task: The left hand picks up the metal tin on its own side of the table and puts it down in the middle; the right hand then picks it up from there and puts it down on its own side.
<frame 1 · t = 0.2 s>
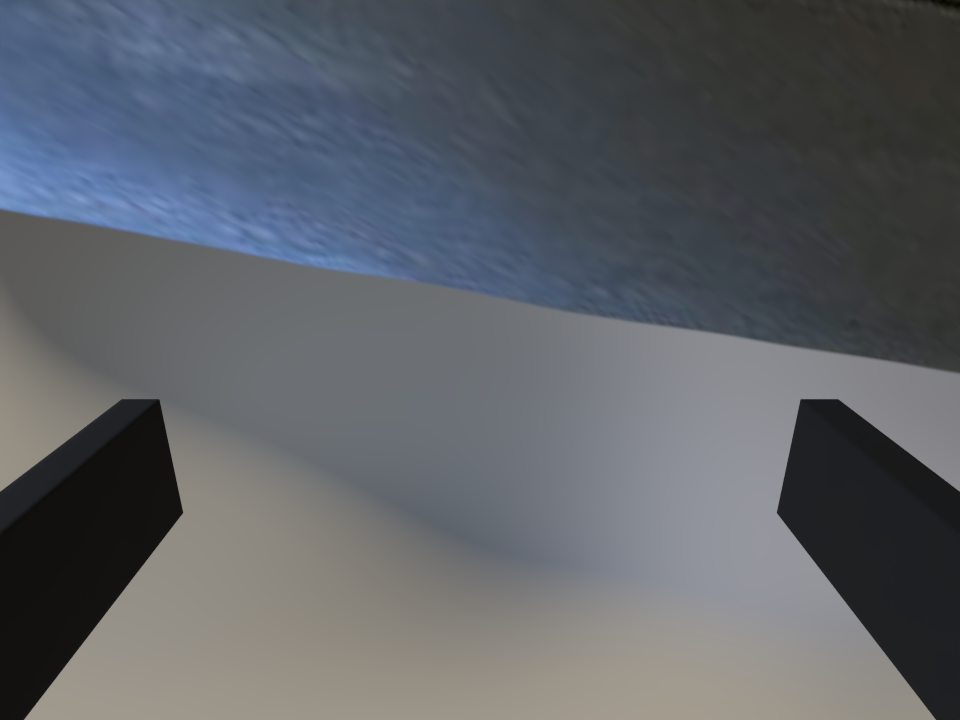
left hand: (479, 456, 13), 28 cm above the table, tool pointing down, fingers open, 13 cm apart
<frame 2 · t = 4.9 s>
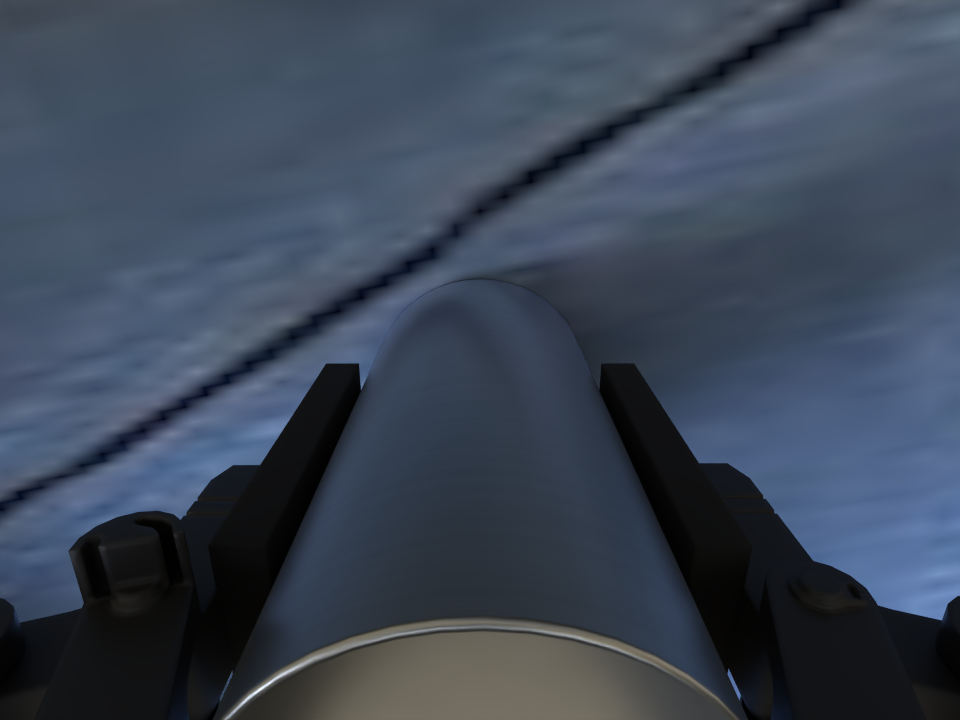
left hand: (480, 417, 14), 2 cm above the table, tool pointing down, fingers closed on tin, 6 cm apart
tin: (480, 378, 17), on the table, touching left hand
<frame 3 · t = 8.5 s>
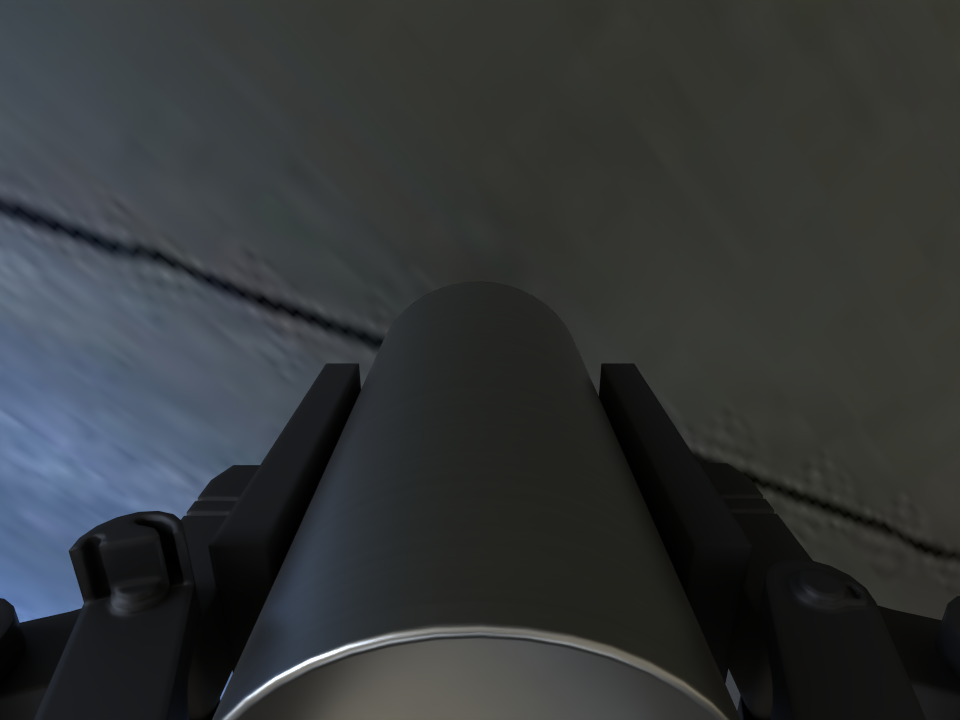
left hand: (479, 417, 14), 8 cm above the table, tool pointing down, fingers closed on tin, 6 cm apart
tin: (478, 381, 17), point 5 cm above the table, touching left hand
when the left hand's fingers open (4 cm above the table, at t = 11.9 s): tin drops 1 cm, on the table.
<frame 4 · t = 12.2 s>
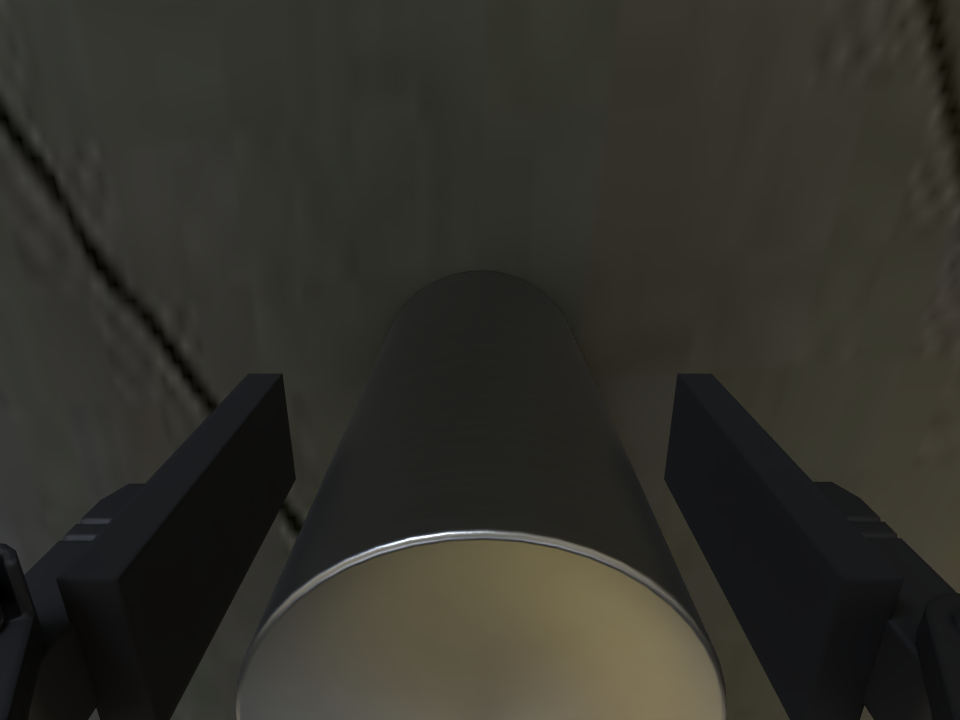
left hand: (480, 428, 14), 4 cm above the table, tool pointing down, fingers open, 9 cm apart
tin: (480, 364, 18), on the table
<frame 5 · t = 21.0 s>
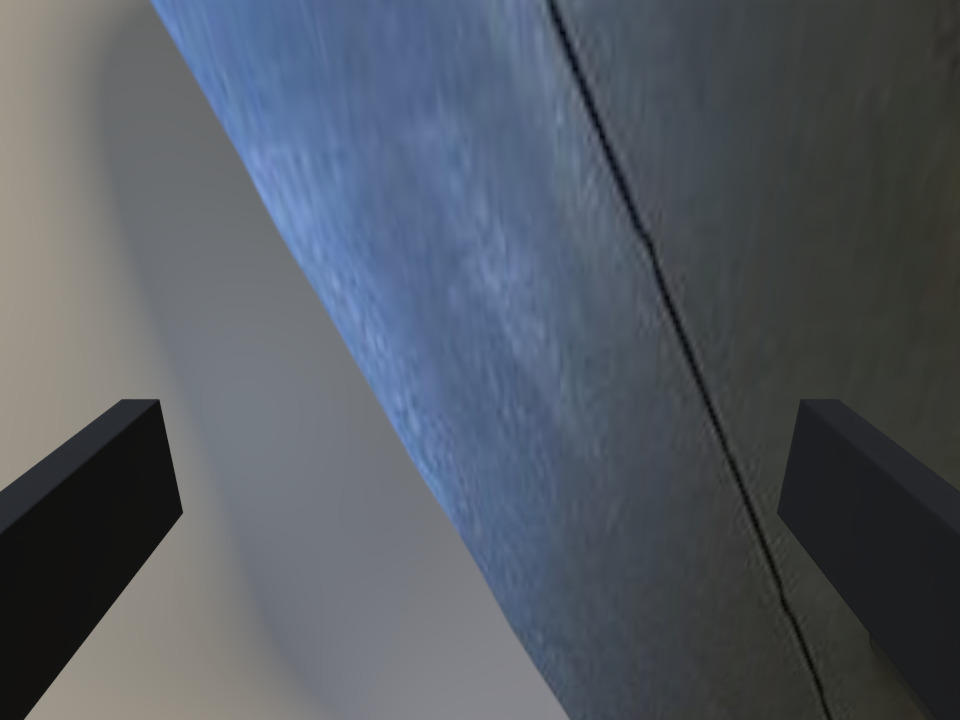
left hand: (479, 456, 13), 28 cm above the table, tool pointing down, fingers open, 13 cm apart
tin: (904, 632, 50), on the table, touching right hand
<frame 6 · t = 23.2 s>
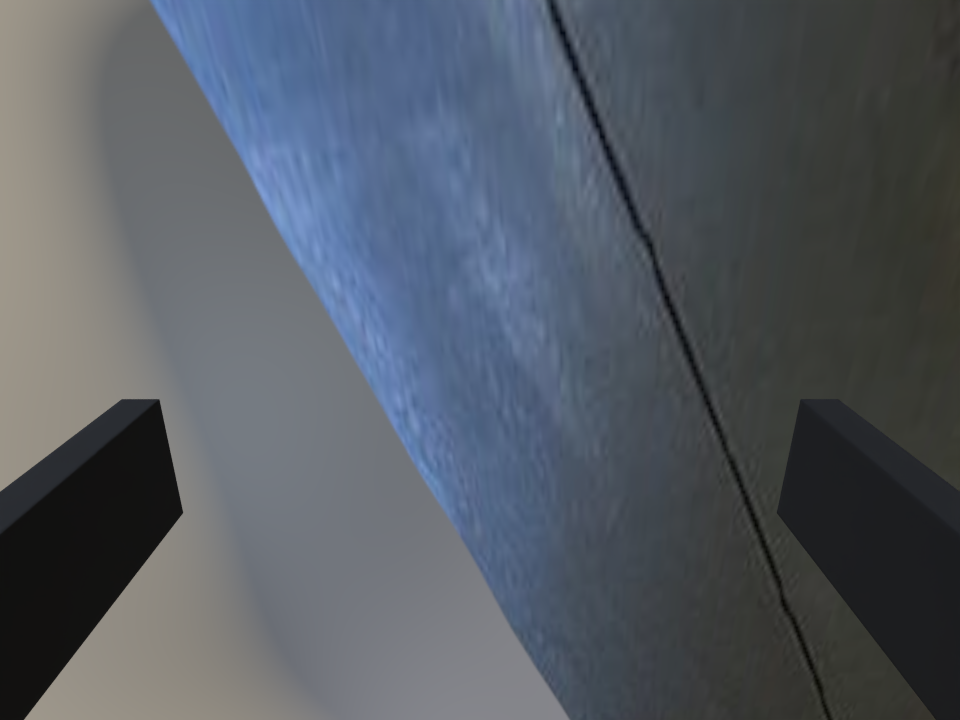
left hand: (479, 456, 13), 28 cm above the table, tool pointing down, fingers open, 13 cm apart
when the right hand's fingers open (4 cm above the table, at t = 25.8 s): tin drops 1 cm, on the table.
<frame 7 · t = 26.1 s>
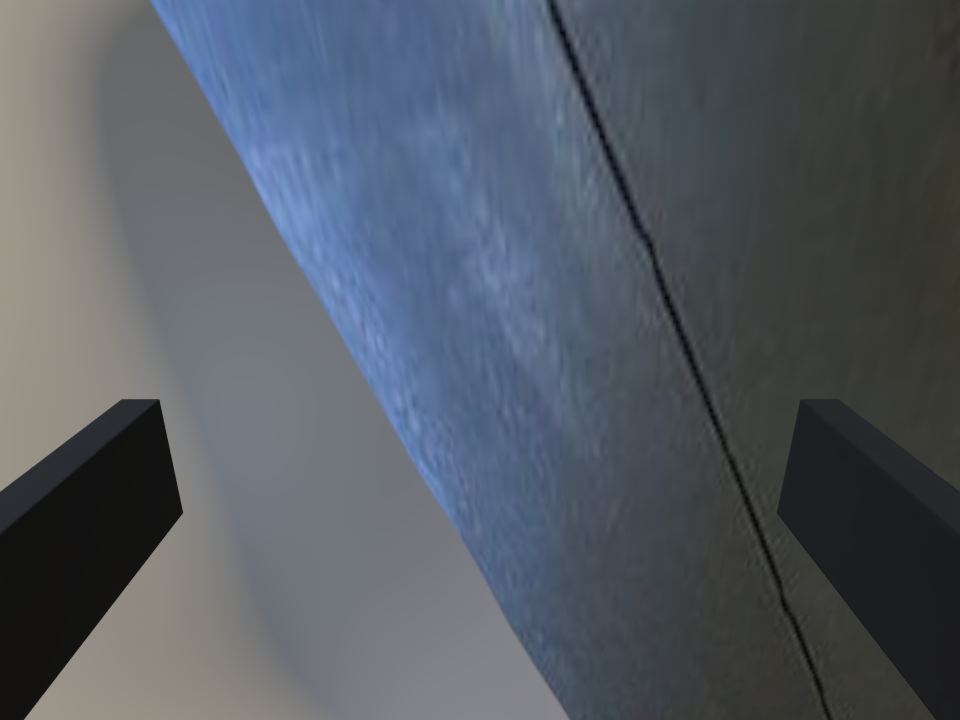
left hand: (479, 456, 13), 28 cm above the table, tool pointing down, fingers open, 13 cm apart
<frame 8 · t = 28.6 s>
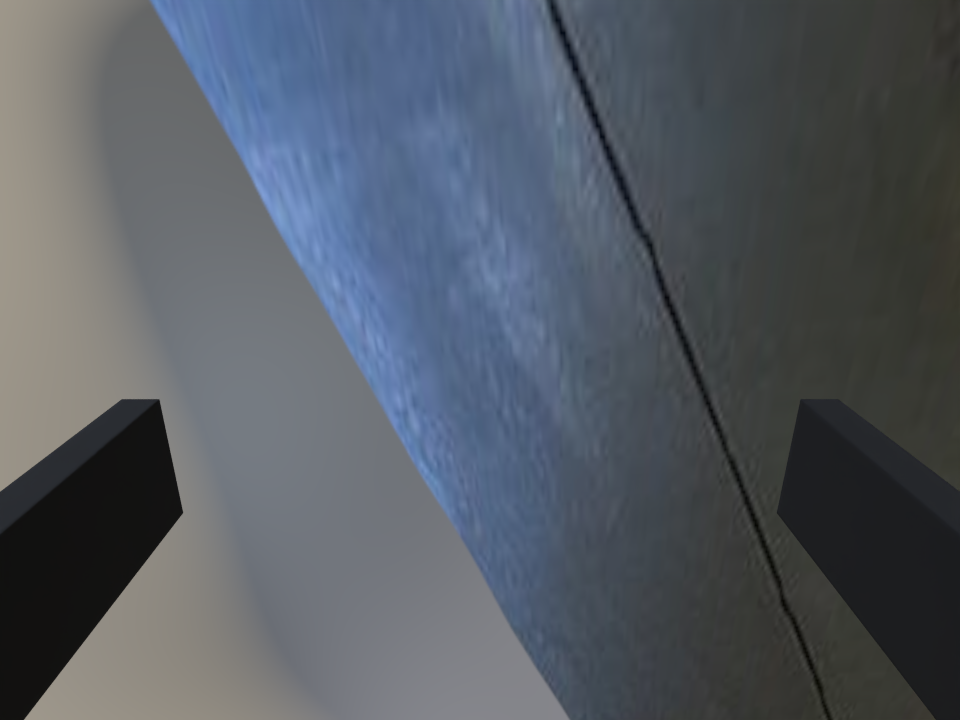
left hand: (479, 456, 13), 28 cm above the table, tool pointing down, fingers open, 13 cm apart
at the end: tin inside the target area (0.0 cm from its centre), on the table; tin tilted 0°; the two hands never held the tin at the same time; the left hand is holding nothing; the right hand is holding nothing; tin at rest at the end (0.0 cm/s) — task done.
